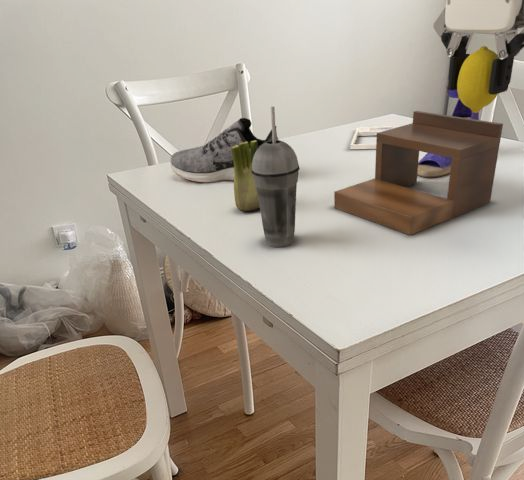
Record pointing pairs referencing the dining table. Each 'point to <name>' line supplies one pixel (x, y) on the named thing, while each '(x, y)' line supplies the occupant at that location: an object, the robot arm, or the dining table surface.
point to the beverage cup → (276, 188)
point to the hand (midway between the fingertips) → (477, 89)
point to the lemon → (476, 79)
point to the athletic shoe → (215, 155)
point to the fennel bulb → (244, 176)
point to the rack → (406, 167)
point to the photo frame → (368, 132)
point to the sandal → (435, 163)
